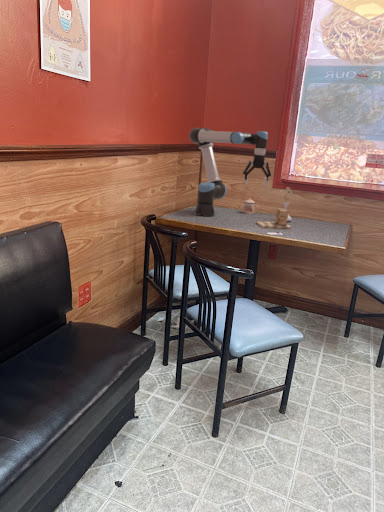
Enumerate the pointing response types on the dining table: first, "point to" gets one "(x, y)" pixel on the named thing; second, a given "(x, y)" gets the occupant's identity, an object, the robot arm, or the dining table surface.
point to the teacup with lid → (249, 206)
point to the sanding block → (281, 217)
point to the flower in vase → (287, 202)
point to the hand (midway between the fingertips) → (255, 185)
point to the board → (272, 225)
